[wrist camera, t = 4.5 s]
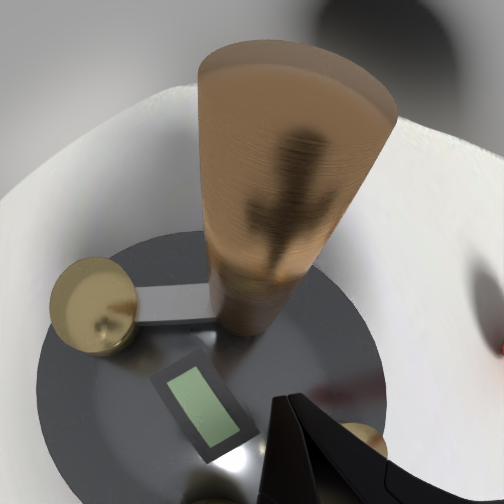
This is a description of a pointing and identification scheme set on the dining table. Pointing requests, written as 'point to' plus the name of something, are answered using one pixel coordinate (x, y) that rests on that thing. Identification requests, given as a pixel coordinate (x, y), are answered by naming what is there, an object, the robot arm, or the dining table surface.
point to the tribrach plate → (256, 368)
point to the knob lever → (247, 194)
